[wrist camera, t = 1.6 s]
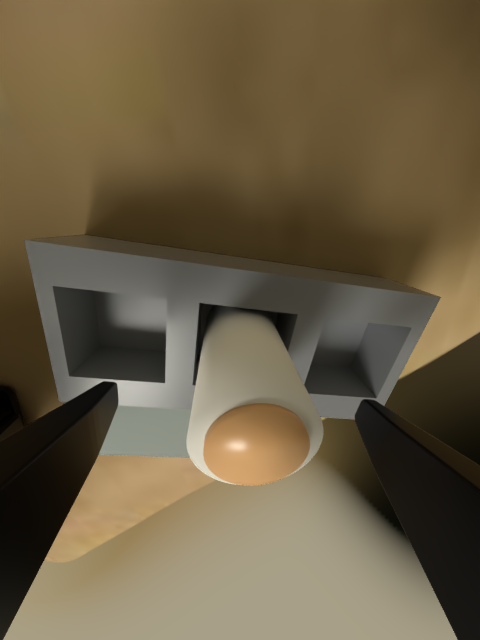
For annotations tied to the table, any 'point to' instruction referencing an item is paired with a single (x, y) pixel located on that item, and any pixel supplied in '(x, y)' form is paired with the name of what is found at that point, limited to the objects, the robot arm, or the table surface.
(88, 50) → the table surface
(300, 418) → the plug
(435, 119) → the table surface
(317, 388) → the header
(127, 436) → the mat
